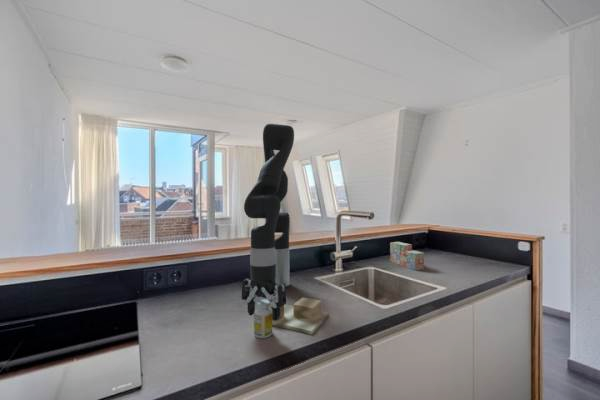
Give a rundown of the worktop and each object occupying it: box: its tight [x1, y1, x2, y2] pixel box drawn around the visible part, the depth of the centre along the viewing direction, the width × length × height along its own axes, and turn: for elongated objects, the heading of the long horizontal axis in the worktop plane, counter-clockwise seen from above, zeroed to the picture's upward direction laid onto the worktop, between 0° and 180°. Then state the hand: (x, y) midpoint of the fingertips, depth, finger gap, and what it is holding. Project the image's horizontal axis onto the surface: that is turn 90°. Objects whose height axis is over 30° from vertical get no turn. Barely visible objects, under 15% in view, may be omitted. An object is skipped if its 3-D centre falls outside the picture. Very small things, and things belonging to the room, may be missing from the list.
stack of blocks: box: [389, 241, 425, 271], centre depth 162 cm, size 21×6×12 cm, turn 19°
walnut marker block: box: [270, 303, 284, 321], centre depth 92 cm, size 4×4×4 cm
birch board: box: [272, 304, 330, 335], centre depth 92 cm, size 18×14×1 cm
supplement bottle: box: [253, 299, 273, 339], centre depth 82 cm, size 5×5×10 cm
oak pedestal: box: [292, 297, 322, 320], centre depth 94 cm, size 7×7×4 cm
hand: (263, 316), depth 82 cm, fingers open, 8 cm apart
